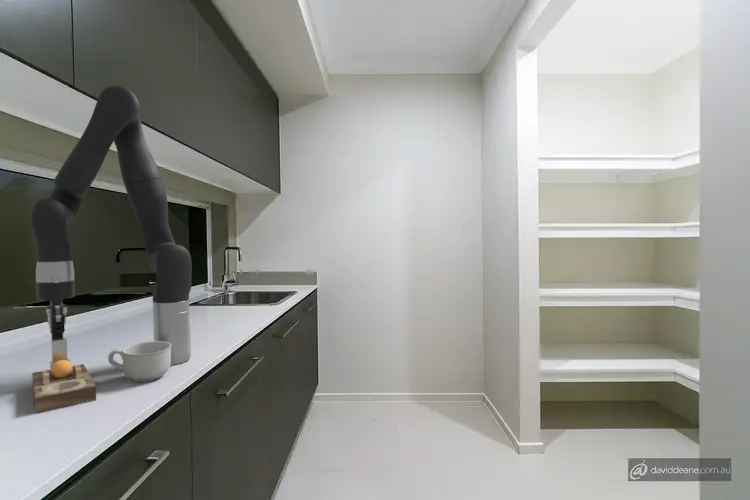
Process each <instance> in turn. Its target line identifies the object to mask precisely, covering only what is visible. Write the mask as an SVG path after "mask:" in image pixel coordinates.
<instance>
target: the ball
mask: <svg viewBox="0 0 750 500" xmlns="http://www.w3.org/2000/svg"><path fill="white" fill-rule="evenodd" d="M69 361H70V360H69ZM69 361H67V360H60V361H57V362H55V363H54V364H53V365H52V367H51V374H52V375H53V376H54V377H56V378H64V377H66V376H68V375H69V374H70V373H71V371H72V368H73V367H72V366H73V364H72V362H71V361H70V362H69Z"/></svg>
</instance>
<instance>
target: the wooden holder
mask: <svg viewBox="0 0 750 500" xmlns="http://www.w3.org/2000/svg"><path fill="white" fill-rule="evenodd" d="M72 367H73V368H72V371H71V373H70V374H69V375H68V376H66V377H64V378H56V377H54V376H51V373H50V369H48V368H46V369H42V370H41V371H36V372H32V373H31V375H32V390H33V398H34V406H35V413H36V414H40V413H44V412H48V411H52V410H53V411H54V410H57V409H63V408H66V407H71V405H72V406H75V405H74V404H76V405H79V404H78V403H81V404H83V403H82V402H85V403H88V402H87V401H90V402H93V401H92V400H94V401H97V388H96V387H97V386H96V383H94V381H93V379H92V377H91V375H90V373H89V371H88V370H87V368H86V366H85V364H84V363H83V364H80V363H76V364H73V365H72Z"/></svg>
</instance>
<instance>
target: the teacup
mask: <svg viewBox="0 0 750 500" xmlns="http://www.w3.org/2000/svg"><path fill="white" fill-rule="evenodd" d="M115 354H117V355H118V354H119V355H120V357H121V359H122V364H121V363H119V362H117V361H116V360H115V359H114V356H115ZM107 357H108V358H107V360H108V362H109V364H110V365H111V366H113V367H114V368H116V369H119V370H120V371H121V372H122V373H124V375H125V377H127V378H129V379H131V380H132V381H134V382H137V383H146V381H147V382H151V381H155V380H157V379H160V378H162V377H163V376H164V374H166V373H167V372H168V371H169V370H170V368H171V365H170V364H171V344H170V343H168V342H163V341H154V340H151V341H150V340H149V341H143V342H136V343H134V344H130V345H127V346H126V347H124V348H123V349H120V348H116V349H113V350H111V351H110V353H109V354H108V356H107Z"/></svg>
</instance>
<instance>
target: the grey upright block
mask: <svg viewBox="0 0 750 500" xmlns="http://www.w3.org/2000/svg"><path fill="white" fill-rule="evenodd" d="M50 341H51V342H50V343H51V344H50V345H51V361H49V370H50V373H51V367H52V365H53V364H54V363H55V362H57V361H60V360H67V361H69V362H70V363H71V361H70V359H69V358H68V340H67V337H63V338H61V339H54V340H52V339H50ZM51 376H53V375H52V374H51Z"/></svg>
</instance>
